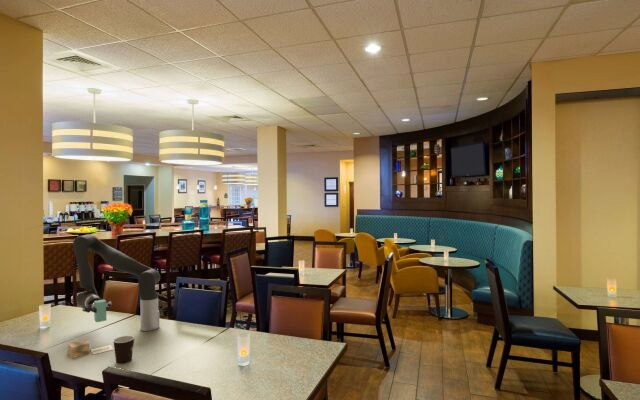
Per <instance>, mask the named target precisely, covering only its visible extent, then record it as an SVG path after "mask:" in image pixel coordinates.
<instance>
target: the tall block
mask: <svg viewBox="0 0 640 400" xmlns="http://www.w3.org/2000/svg"><path fill="white" fill-rule="evenodd" d="M106 303H107V300H106V299H102V300H98V301H94V307H95V308H96V309H97V313H94V312H93V314H94V315H93V317H94V318H93V319H94V322H95V323H101V322H104V321H107V311H106Z"/></svg>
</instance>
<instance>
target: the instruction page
mask: <svg viewBox="0 0 640 400" xmlns="http://www.w3.org/2000/svg"><path fill="white" fill-rule="evenodd" d="M109 351H115V350H114V346H112V345H111V344H109V345H105V346H100V347H97V348H92V349H89V352H91V354H92V355H96V354H102V353H105V352H109Z"/></svg>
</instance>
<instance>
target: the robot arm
mask: <svg viewBox="0 0 640 400" xmlns="http://www.w3.org/2000/svg"><path fill="white" fill-rule="evenodd" d="M72 243H73V246H72V247H73V251H74V255H75V260H76V264H77V268H78V269H77V270H78V279H79V280H78V281H79V287H80V288H81V289H89V290H85V291H81V292H79V293H78V294H77V295H76V298H75V299H76V302H77V304H78V305H79V306H82V309H81V310H82V312H85V313H90V312H91V313H93V314H94V313H97V309H96V308H95V307H94V301H98V300H103V299H102V298H101V297H100V296H99V294H98V291H97V289H96V287H95V280H94V279H95V278H94V277H95V276H94V270H93V267H92V266H91V264H90V262H89V259H88V252H89V251H90V252H92V253H95V254H97V255H99V256H100V257H101V258H102V259H103V261H104V262H105V263H106V264H107V266H110V267H111V268H114V270H117V271H119V272H123V273H127V274H132V275H133V276H134V275H135V276H136V277H138V279H137V281H138V293H139V296H140V297H139V298H140V300H139V301H140V305H139V306H140V331H145V332H146V331H147V332H149V331H155V330H157V329H160V310H159V293H158V292H157V291H156V285H157V284H158V283H159V282H160V281H161V274H160V272H159V271H158V270H157V269H154V268H152V267H149V266H147V265H145V264H142V263H141V262H139V261H137V260H136V259H134V258H132V257H130V256H128V255H127V254H126V253H123V252H122V251H120V250H118V249H116V248H114V247H112V246H110V245H108V244H106V243H105V242H103V241H102V240H101V239H99V238H98V237H96V236H94V235H93V234H84V235H78V236H77V237H76V238H74V240H73V242H72ZM109 309H112V301H111V300H109V301H108V302H106V312H108V310H109Z"/></svg>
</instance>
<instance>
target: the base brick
mask: <svg viewBox="0 0 640 400" xmlns="http://www.w3.org/2000/svg"><path fill="white" fill-rule="evenodd" d="M67 354H68V355H69V356H70V357H71V358H72V359H73V358H76V357H77V358H78V357H80V356H84V355H88V354H90V343H89V342H88V341H87V340H85V339H81V340H77V341H72V342H70V343H67Z"/></svg>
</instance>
